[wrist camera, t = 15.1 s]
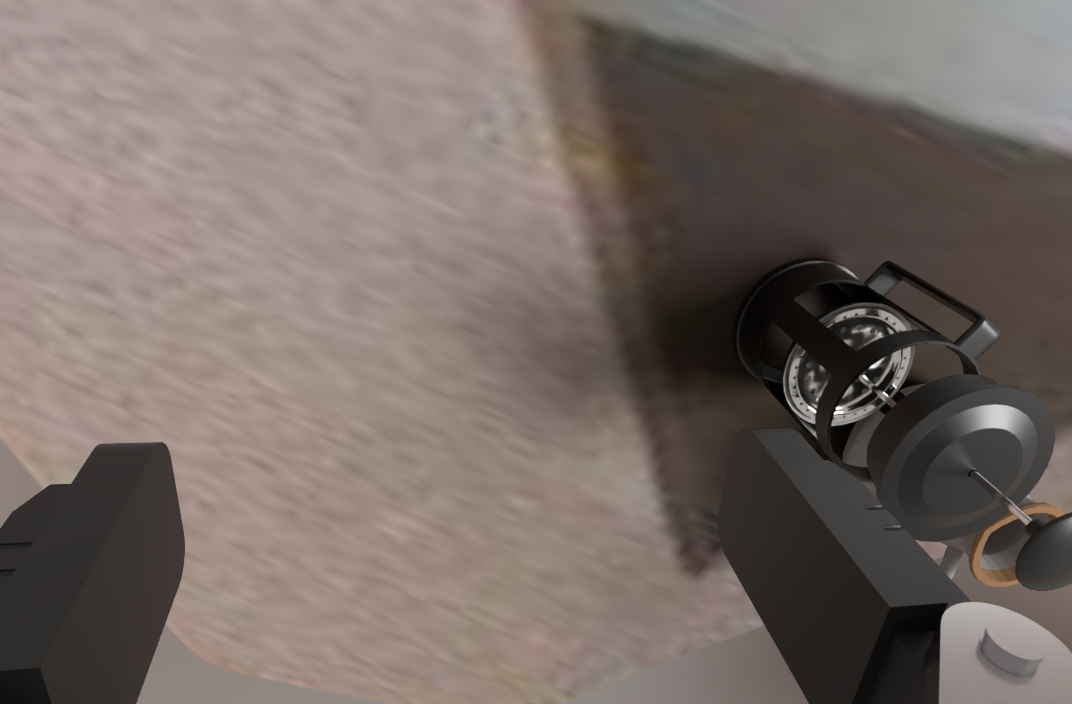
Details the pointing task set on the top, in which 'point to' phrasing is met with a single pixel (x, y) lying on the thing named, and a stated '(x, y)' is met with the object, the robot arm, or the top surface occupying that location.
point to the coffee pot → (986, 547)
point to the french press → (910, 409)
